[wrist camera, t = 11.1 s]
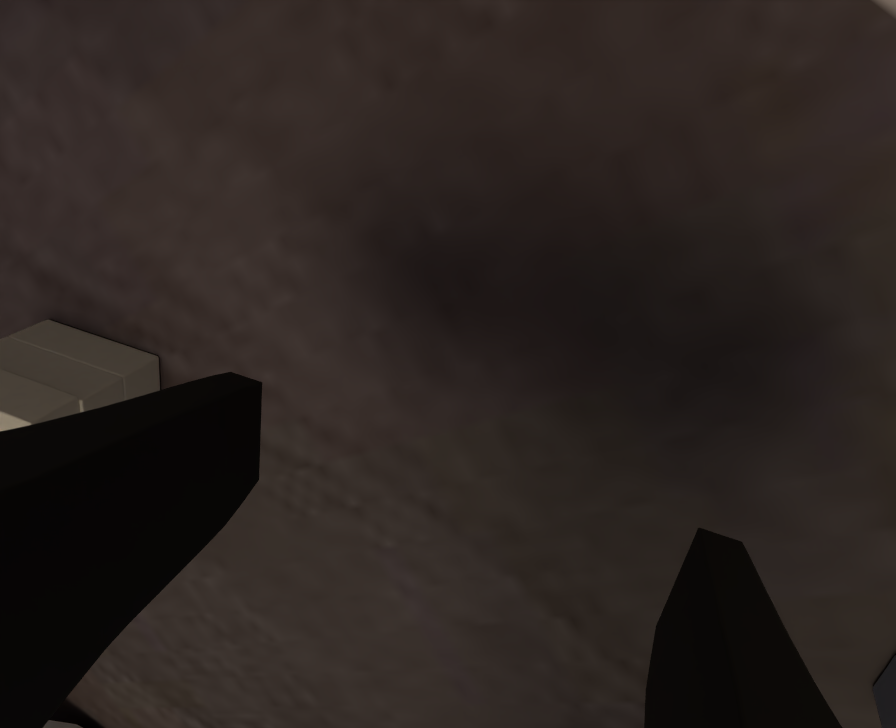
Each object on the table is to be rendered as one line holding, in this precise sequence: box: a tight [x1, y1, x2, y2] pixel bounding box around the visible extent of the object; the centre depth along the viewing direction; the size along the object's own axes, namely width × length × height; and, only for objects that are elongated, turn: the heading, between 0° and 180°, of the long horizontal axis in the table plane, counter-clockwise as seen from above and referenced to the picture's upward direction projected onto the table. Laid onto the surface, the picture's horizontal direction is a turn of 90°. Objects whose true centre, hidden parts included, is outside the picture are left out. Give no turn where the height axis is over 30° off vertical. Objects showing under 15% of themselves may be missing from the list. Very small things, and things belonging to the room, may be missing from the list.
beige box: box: [0, 369, 80, 431], centre depth 23 cm, size 8×5×2 cm, turn 170°
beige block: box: [0, 320, 160, 412], centre depth 26 cm, size 8×5×4 cm, turn 170°
